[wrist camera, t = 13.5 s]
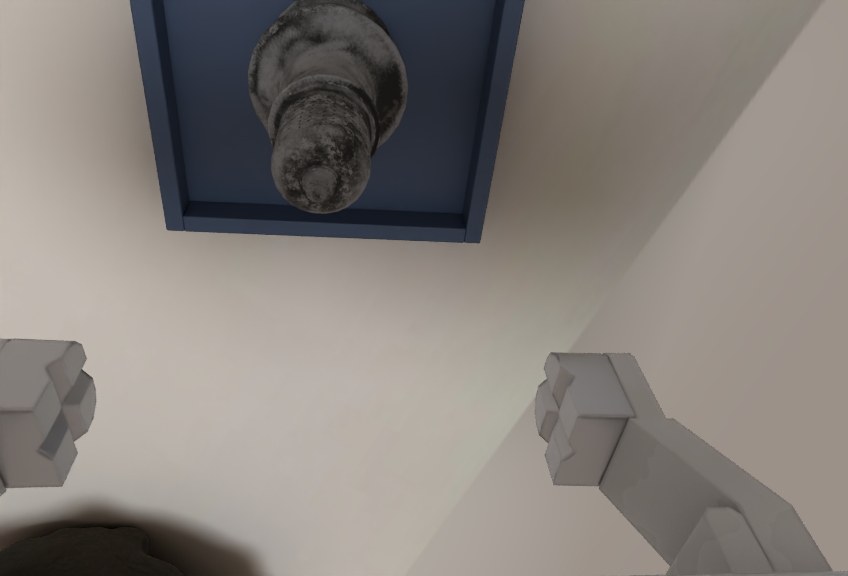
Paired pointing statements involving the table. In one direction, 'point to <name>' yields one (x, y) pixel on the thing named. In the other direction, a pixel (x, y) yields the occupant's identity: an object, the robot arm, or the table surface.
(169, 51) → the tray
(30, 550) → the stone bowl
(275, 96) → the black chess piece
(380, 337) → the table surface
